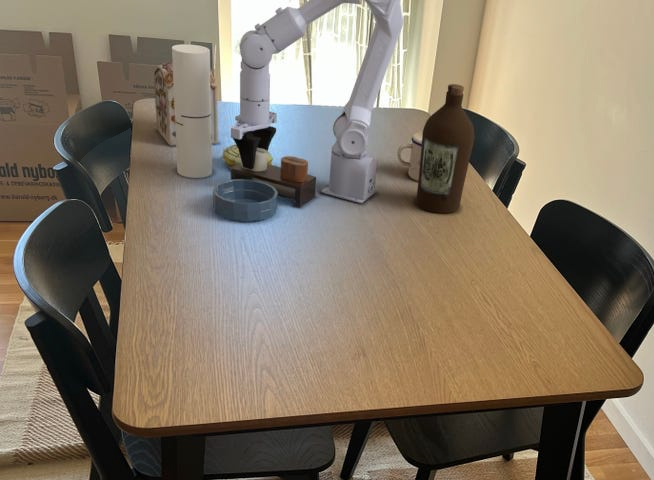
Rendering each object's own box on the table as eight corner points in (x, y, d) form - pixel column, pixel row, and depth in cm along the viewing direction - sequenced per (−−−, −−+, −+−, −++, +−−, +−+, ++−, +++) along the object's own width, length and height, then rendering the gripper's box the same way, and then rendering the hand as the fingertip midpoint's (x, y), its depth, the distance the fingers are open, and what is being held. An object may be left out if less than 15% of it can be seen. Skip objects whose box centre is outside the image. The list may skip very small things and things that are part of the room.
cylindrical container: (203, 180, 158) (200, 55, 144) (171, 173, 158) (165, 49, 145) (217, 169, 164) (215, 48, 150) (186, 163, 164) (181, 42, 150)
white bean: (270, 167, 156) (271, 150, 154) (260, 173, 153) (261, 155, 151) (247, 161, 157) (247, 144, 155) (236, 166, 154) (236, 149, 152)
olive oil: (423, 191, 167) (440, 75, 154) (468, 203, 165) (489, 86, 151) (405, 206, 159) (421, 85, 145) (452, 219, 156) (472, 97, 142)
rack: (315, 197, 157) (316, 176, 155) (299, 208, 152) (300, 186, 149) (248, 179, 161) (248, 158, 159) (230, 188, 156) (230, 168, 153)
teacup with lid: (442, 171, 180) (449, 122, 173) (448, 185, 172) (456, 135, 166) (392, 167, 178) (398, 118, 171) (397, 181, 170) (403, 130, 164)
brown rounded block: (310, 178, 154) (311, 160, 152) (301, 183, 151) (302, 166, 149) (286, 171, 155) (286, 154, 153) (276, 177, 152) (277, 159, 150)
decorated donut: (254, 179, 162) (254, 162, 160) (213, 166, 165) (213, 149, 163) (280, 166, 170) (281, 149, 168) (241, 154, 173) (241, 138, 171)
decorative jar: (156, 130, 180) (151, 50, 170) (204, 128, 185) (202, 51, 175) (168, 147, 171) (164, 64, 161) (219, 144, 176) (217, 65, 166)
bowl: (287, 207, 151) (288, 189, 149) (256, 228, 141) (257, 209, 139) (235, 193, 154) (234, 174, 152) (201, 212, 144) (200, 193, 142)
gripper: (255, 86, 154) (255, 151, 162) (216, 101, 142) (217, 170, 150) (286, 93, 152) (284, 158, 160) (249, 109, 141) (248, 178, 148)
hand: (254, 164), depth 155 cm, fingers closed on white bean, 4 cm apart
